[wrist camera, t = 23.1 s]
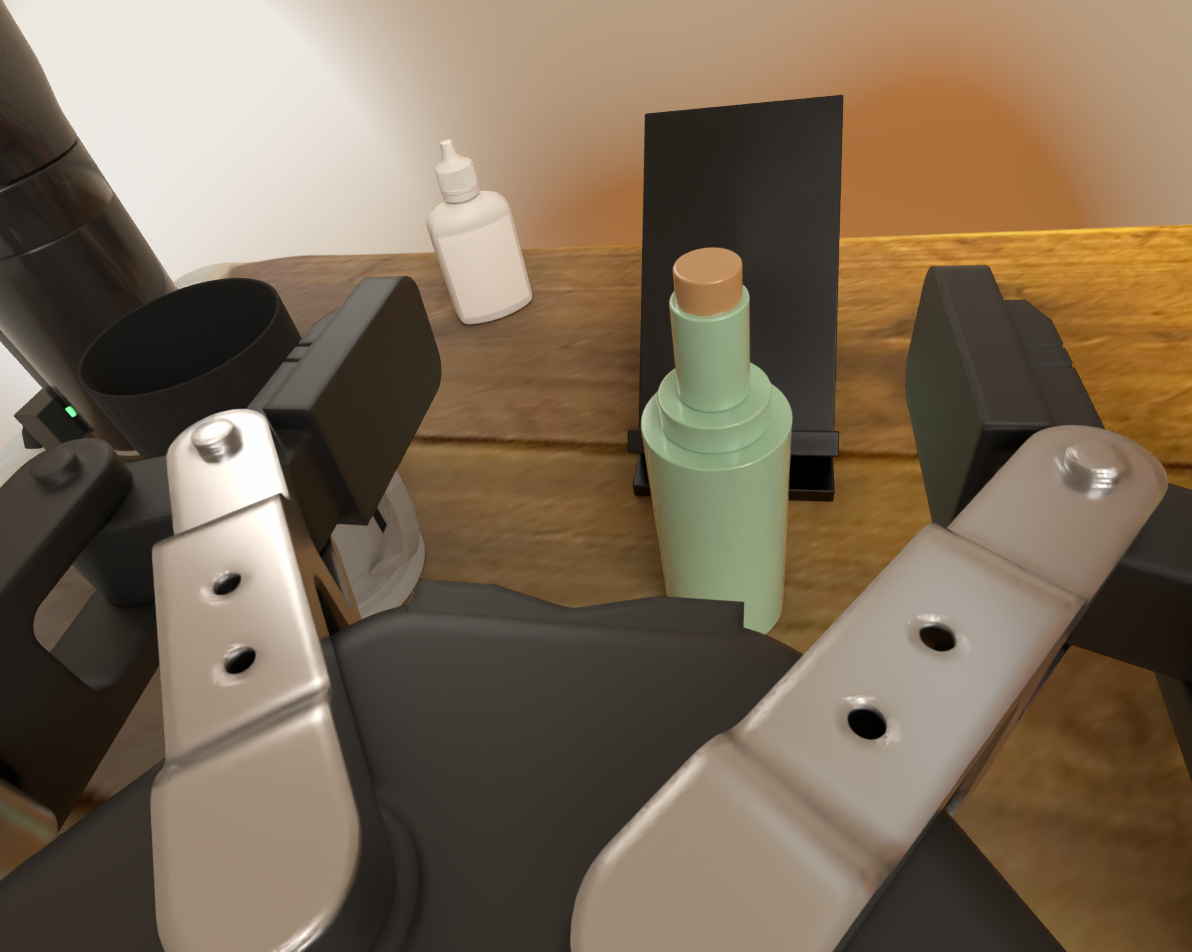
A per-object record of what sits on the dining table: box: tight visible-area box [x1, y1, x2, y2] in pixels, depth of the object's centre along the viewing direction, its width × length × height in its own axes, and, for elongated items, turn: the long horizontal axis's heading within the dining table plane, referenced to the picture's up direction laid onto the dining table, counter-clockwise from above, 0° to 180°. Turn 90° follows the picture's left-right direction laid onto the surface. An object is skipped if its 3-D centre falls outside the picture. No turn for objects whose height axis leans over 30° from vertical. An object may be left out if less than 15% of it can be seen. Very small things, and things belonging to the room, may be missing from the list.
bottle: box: [641, 247, 793, 634], centre depth 28 cm, size 14×5×14 cm
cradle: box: [628, 95, 843, 501], centre depth 37 cm, size 16×10×14 cm, turn 169°
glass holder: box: [77, 278, 425, 619], centre depth 31 cm, size 9×14×15 cm, turn 56°
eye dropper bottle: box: [427, 140, 532, 324], centre depth 49 cm, size 4×6×12 cm
